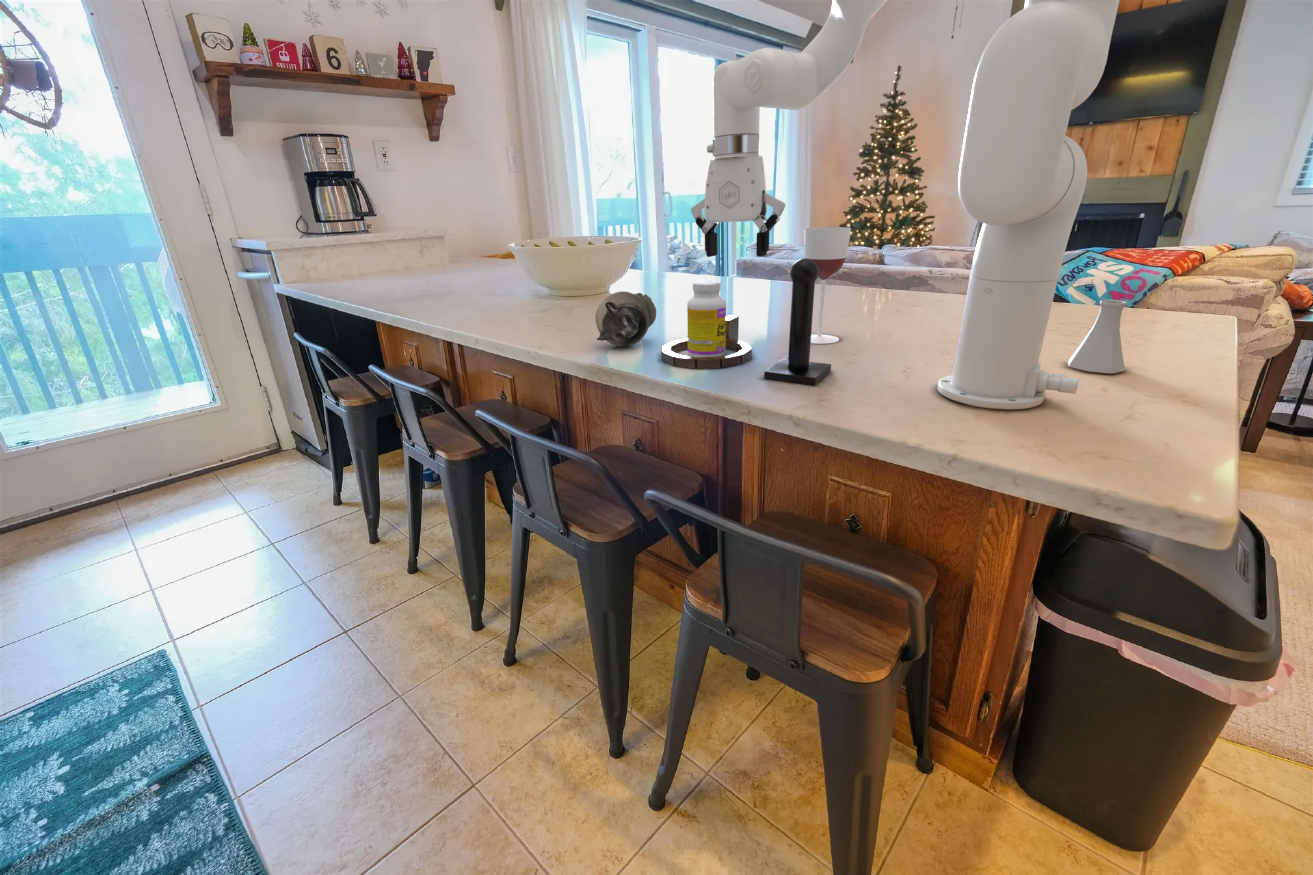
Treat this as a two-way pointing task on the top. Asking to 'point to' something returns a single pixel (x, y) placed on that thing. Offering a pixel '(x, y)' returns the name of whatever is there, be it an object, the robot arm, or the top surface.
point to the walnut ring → (731, 343)
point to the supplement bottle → (706, 320)
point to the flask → (1102, 342)
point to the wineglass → (826, 262)
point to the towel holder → (800, 331)
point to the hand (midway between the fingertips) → (736, 256)
